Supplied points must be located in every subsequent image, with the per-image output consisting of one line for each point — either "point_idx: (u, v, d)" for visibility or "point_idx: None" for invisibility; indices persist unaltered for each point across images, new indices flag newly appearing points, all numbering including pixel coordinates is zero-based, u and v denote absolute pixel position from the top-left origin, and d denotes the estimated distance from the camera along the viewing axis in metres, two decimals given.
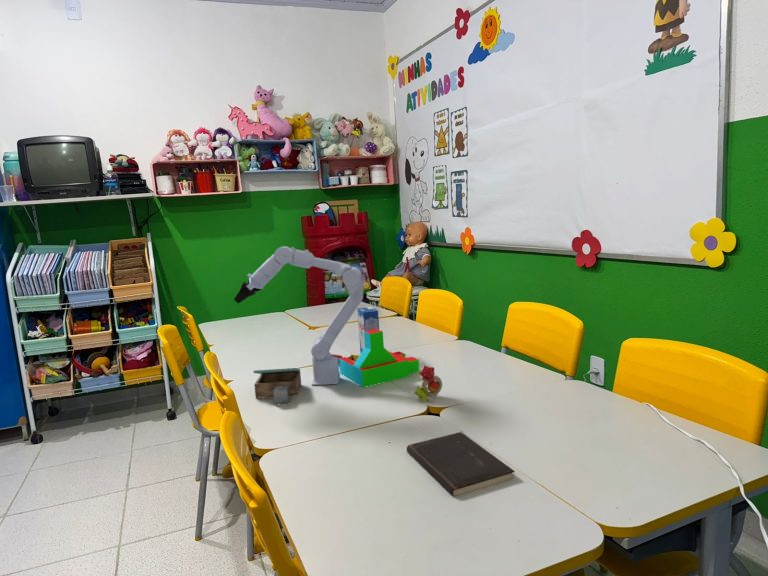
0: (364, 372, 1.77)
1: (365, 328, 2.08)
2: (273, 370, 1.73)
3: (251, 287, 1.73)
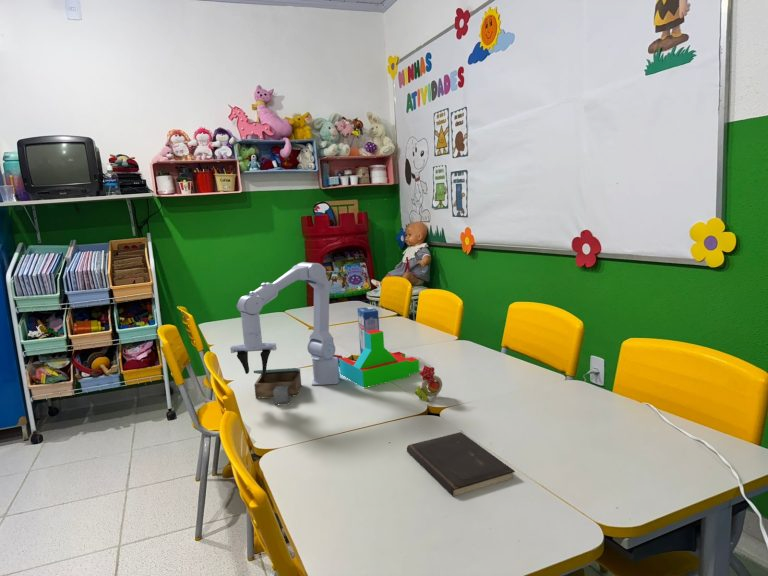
0: (365, 372, 1.77)
1: (365, 328, 2.08)
2: (273, 370, 1.73)
3: None
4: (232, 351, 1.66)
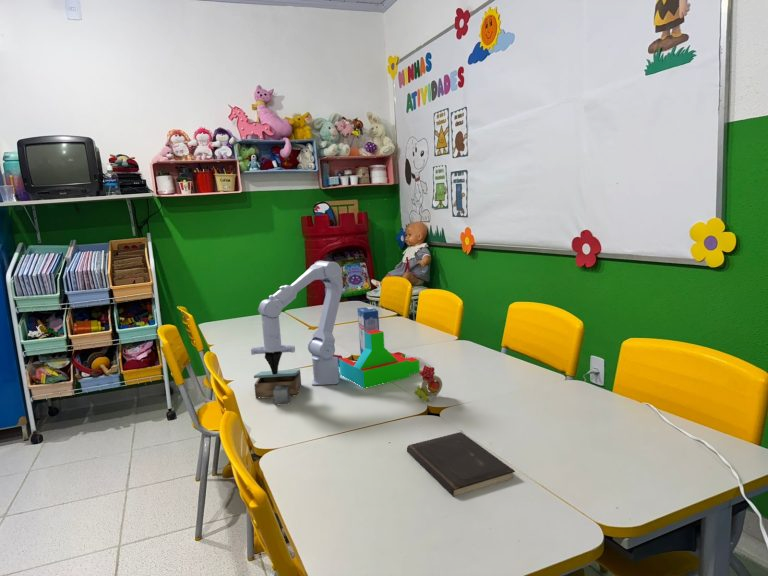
0: (365, 373, 1.76)
1: (365, 328, 2.08)
2: (273, 375, 1.73)
3: (294, 348, 1.74)
4: (252, 353, 1.72)
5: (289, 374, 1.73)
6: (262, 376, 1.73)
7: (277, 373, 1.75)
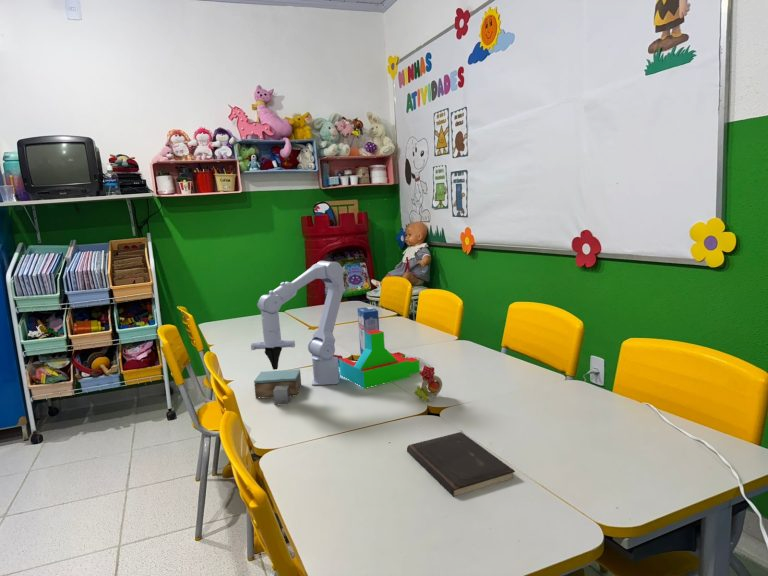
0: (366, 373, 1.76)
1: (365, 328, 2.08)
2: (273, 380, 1.73)
3: (294, 343, 1.74)
4: (252, 348, 1.72)
5: (289, 379, 1.73)
6: (262, 381, 1.73)
7: (277, 377, 1.75)
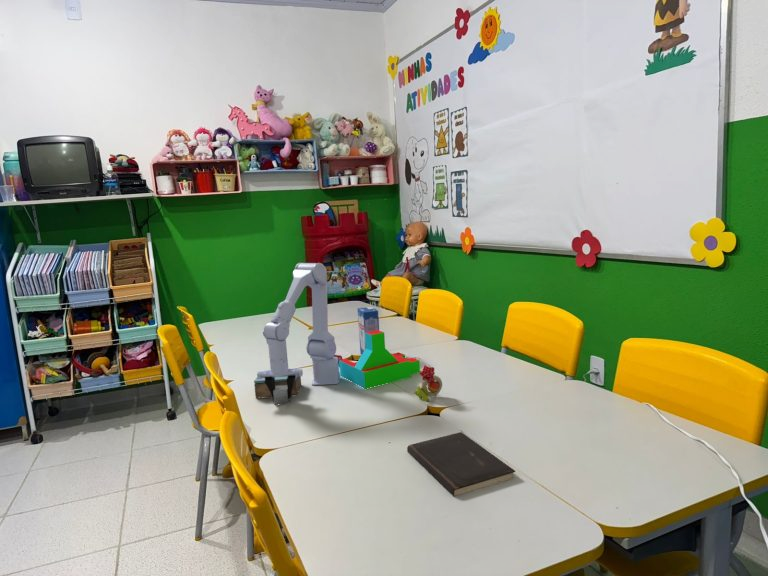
0: (366, 374, 1.75)
1: (365, 328, 2.08)
2: None
3: (302, 372, 1.68)
4: (259, 377, 1.66)
5: None
6: (262, 381, 1.73)
7: (277, 377, 1.75)
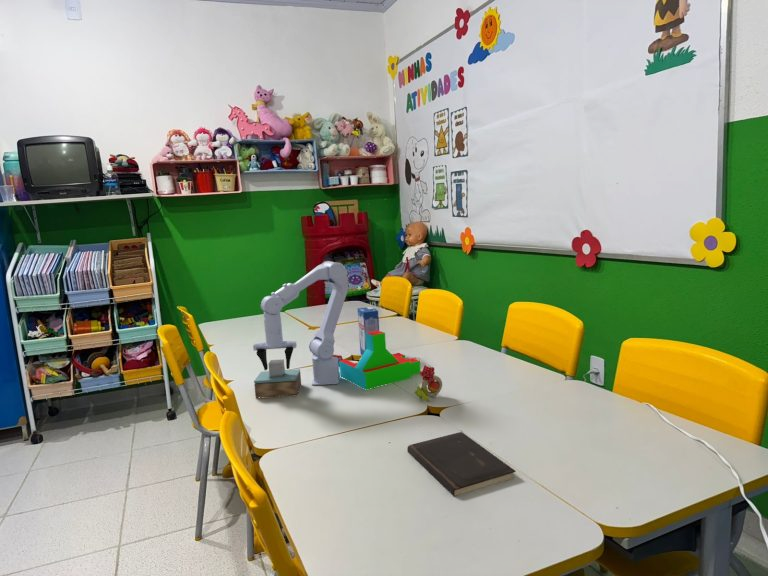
0: (367, 374, 1.75)
1: (365, 328, 2.08)
2: (273, 380, 1.73)
3: None
4: (255, 349, 1.75)
5: (289, 379, 1.73)
6: (262, 381, 1.73)
7: (277, 377, 1.75)
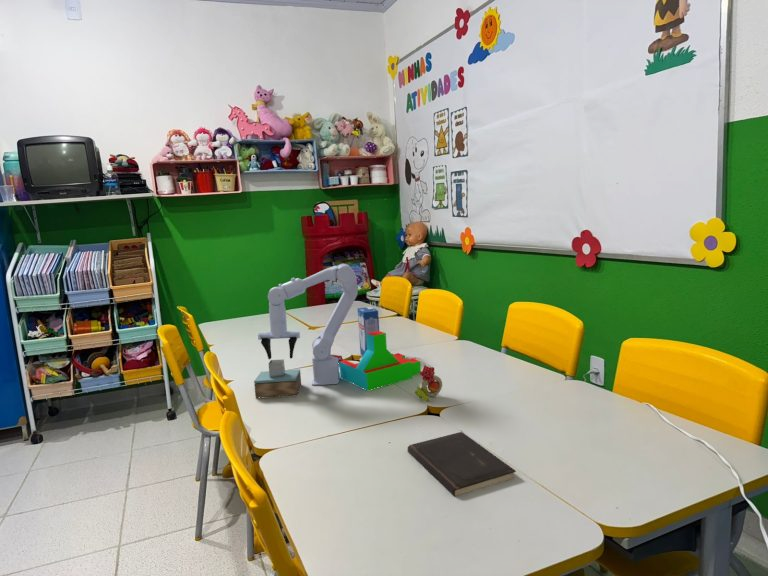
0: (368, 375, 1.74)
1: (365, 328, 2.08)
2: (273, 380, 1.73)
3: (299, 334, 1.82)
4: (259, 338, 1.80)
5: (289, 379, 1.73)
6: (262, 381, 1.73)
7: (277, 377, 1.75)
